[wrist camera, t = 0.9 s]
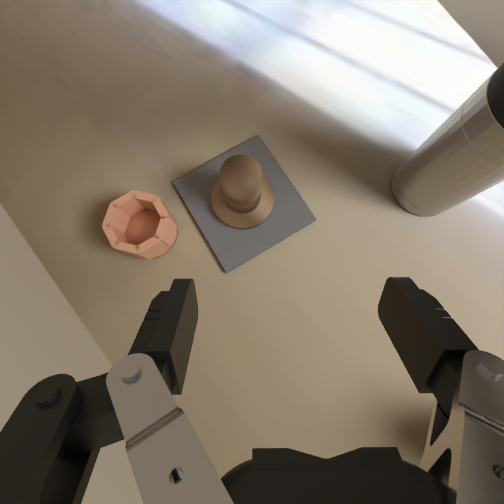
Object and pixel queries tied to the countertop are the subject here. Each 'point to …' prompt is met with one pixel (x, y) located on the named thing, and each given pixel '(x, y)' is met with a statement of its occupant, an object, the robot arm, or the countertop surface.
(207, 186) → the rubber mat
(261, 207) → the walnut lid
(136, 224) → the terracotta bowl
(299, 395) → the countertop surface
